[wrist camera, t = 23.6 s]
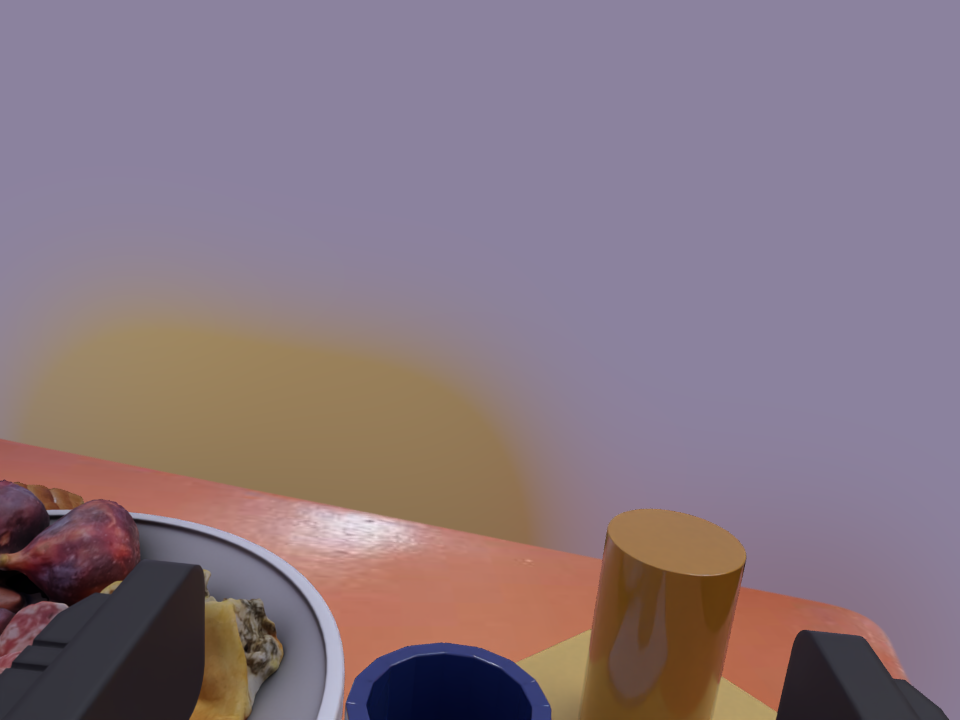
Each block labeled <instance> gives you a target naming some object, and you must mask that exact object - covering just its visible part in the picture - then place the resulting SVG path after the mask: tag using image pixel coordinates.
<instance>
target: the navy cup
mask: <svg viewBox="0 0 960 720" xmlns="http://www.w3.org/2000/svg"><path fill="white" fill-rule="evenodd" d="M551 717H552V709H551V706H550V704H549V702H548V700H547V698H546V696H545V695H544V693H543V691H542V689H541V687H540V686H539V684H538V682H536V680H535V679H534V678H533V677H532V676H530V675H529V674H528V673H527V672H525V671H524V670H523V669H522V668H520V667H519V666H518V665H517V664H516V663H514V662H513V661H511V660H509V659H507V658H504V657H502V656H499V655H497V654H495V653H492V652H490V651H487V650H485V649H482V648H478V647H473V646H466V645H459V644H452V643H432V644H422V645H412V646H410V647H409V646H406V647H404V648H401V649H399V650H396V651H393V652H391V653H388V654H386V655H383V656H381V657H379V658H377V659H376V660H375V661H374V662H372V663H371V664H370V665H369V666H368V667H367V668H366V669H365V670H363V671H362V672H361V673H360V674H359V675H358V676H357V677H356V678H355V680H354V682H353V685H352V688H351V690H350V693H349V696H348V698H347V701H346V706H345V720H551Z"/></svg>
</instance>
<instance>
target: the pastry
mask: <svg viewBox="0 0 960 720" xmlns="http://www.w3.org/2000/svg"><path fill="white" fill-rule="evenodd" d="M14 484H18V485H19V486H21V487H24V488H26V489H28V490H29V491H31V492H32V493H33V494H34V495H35V496H36V497H37V498H38V499H39V500H40V501H41V502H42V503H43V504H44V506H45V508H46V510H72V509H74V508H76V507H78V506H80V505H82V504H84V501H83V498H82V497H81V496H78V495H76V494H73V493H70V492H68V491H65V490H62V489H58V488H53V489H48V488H47V487H45V486H42V485H26V484H23V483H20V482H14Z"/></svg>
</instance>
